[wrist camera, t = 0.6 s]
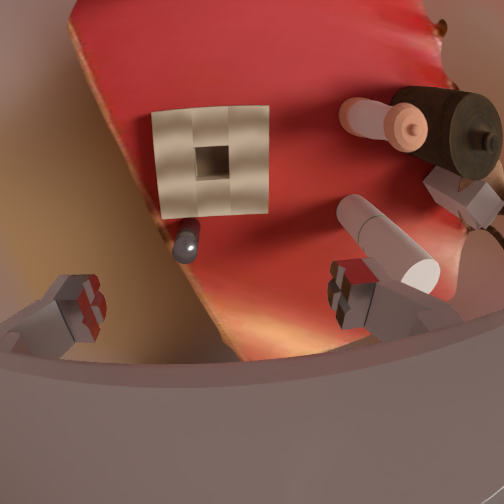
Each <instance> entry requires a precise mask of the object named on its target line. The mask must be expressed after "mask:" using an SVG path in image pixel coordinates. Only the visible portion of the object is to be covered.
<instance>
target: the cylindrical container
mask: <svg viewBox="0 0 504 504" xmlns="http://www.w3.org/2000/svg"><path fill="white" fill-rule="evenodd" d="M336 215H337V219H338V221H339V222H340V223H341V225H342V226H343V227H344V228H345V229H346V230H347V232H348V233H349V234H350V235H351V236H352V238H353V239H354V240H355V241H356V242H357V244H358V245H359V246H360V247H361V248H362V250H363V251H364V252H365V253H366V255H367V256H368V257H372V258H374V259H375V260H376V261H377V262H378V263H379V264H380V266H381V267H382V268H383V269H384V270H385V271H386V273H387V274H388V275H389V276H390V277H391V278H392V280H398V281H400V282H402V283H405V284H407V285H409V286H411V287H414V288H416V289H418V290H420V291H422V292H425V293H427V294H429V293H430V292H431V291H432V290H433V288H434V287H435V285H436V284H437V282H438V279H439V276H440V267H439V264H438V263H437V262H436V261H435V260H434V259H433V258H432V257H431V256H430V255H429V254H428V253H427V252H426V251H425V250H424V249H423V248H422V247H420V246H419V245H418V244H417V243H416V242H415V241H414V240H413V239H412V238H411V237H410V236H408V235H407V234H406V233H405V232H404V231H403V230H402V229H400V228H399V227H398V226H397V225H396V224H395V223H394V222H392V221H391V220H390V219H389V218H388V217H387V216H385V215H384V214H383V213H382V212H381V211H379V210H378V209H377V208H376V207H375V206H373V205H372V204H371V203H370V202H369V201H367V200H366V199H365V198H364V197H362V196H361V195H358V194H351V195H348V196H346V197H345V198H343V199H342V200H341V201H340V203H339V204H338V207H337V211H336Z"/></svg>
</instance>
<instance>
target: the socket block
mask: <svg viewBox="0 0 504 504" xmlns="http://www.w3.org/2000/svg"><path fill="white" fill-rule="evenodd" d="M151 116H152V131H153V143H154V155H155V165H156V175H157V184H158V192H159V200H160V208H161V215H162V219H173V218H188V217H203V216H221V215H240V214H263V213H268V193H269V106H267V105H235V106H211V107H196V108H184V109H174V110H165V111H157V112H152V113H151Z"/></svg>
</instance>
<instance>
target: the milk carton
mask: <svg viewBox="0 0 504 504" xmlns="http://www.w3.org/2000/svg"><path fill="white" fill-rule="evenodd" d="M460 180H461V177H460V176H458V175H456V174H455V173H453V172H450V171H448V170H446V169H443V168H441V167H439V166H435V168H434V169H433V170H432V171H431V172H430V173H429V175H428V176H427V177H426V178H425V179H424V180H423V183H424V185H425V187H426V188H427V190H428V191H429V193H430V194H431V196H432V197H433V199H434V201H435V202H436V203H437V204H439V205H440V206H442V207H444V208H445V209H447V210H448V211H450V212H451V213H452V214H454V215H455V216H457V217H458V218H460V217H459V213H458V210H459V212H460V213H461V215H462V217H463V219H464V221H465V223H467V224H468V225H470V226H471V227H472V228H474V229H475V230H478V229H480V228H481V227H483V228H484V229H486V228H487V227H488V226H489V224H491V223H492V222H493V220H494V219H495V218H496V215H497V214H498V213H499V211H500V210H501V209H502V207H503V206H504V201H502V200H501V199H500V197H499V196H498V195H497V194H496V192H495V191H494V190H493V189H492V188H491V186H490V185H489V184H488V183H487V182H485V181H483V180H479V181H474V182H473V183H472V184H471V185H469V186H468V187H467V188H465V189H464V190H462V191H461V192H459V193H458V187H459V183H460Z"/></svg>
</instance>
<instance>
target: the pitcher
mask: <svg viewBox="0 0 504 504" xmlns="http://www.w3.org/2000/svg"><path fill="white" fill-rule="evenodd" d="M482 180H483V181H485V182H487V183H488V184H489V185H490V186H491V188H492V189H493V190H494V191H495V192H496V194H497V195H498V196H499V197H500V199H501V200H502V201H504V172H503V168H502V165H501V163H500V161H499V160H498V162H497V164H496V166H495V168H494V169H493V170H492V172H491V173H490V174H489V175H488V176H487V177H485V178H483V179H482ZM473 182H474V181H471V180H467V179H465V178H462V177H461V180H460V183H459V187H458V193H459V192H461V191H462V190H464V189H465V188H467V187H468V186H469V185H471V184H472V183H473ZM458 213H459V217H460V219H461V221H462V223H463V224H464V225H465V226H466V227H467V229H468V230H469V231H474V230H475V229H474V228H472V227H471V226H470V225H468V224H467V223H465V221H464V219H463V217H462V215H461V213H460V212H459V210H458ZM497 215H504V206H503V207H502V209H501V210H500V211H499V213H498V214H497ZM480 229H482V230H486V231H488V232H490V233H491V234H492V235H493V236H494V237H495V238H496V239H497V241H498V242H499V243H500V245H501V246H502V248H503V249H504V238H503V236H502V235H501V234H500V233H499V232H498V231H497V230H496V229H495V228H494V227H492V226H490V225H489V226H488V227H487V228H486V229H484V228H483V227H481V228H480Z"/></svg>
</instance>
